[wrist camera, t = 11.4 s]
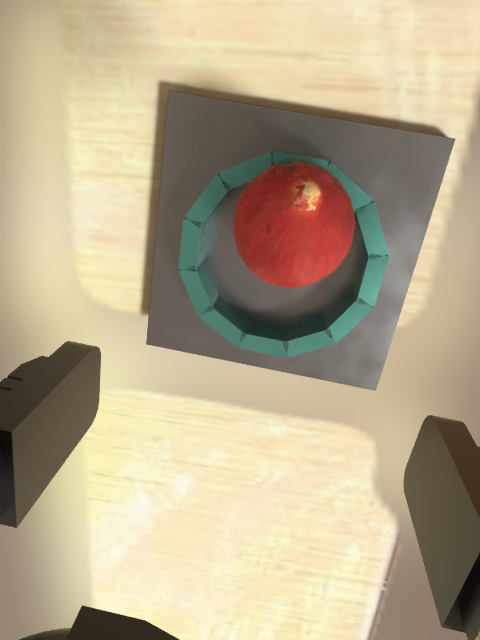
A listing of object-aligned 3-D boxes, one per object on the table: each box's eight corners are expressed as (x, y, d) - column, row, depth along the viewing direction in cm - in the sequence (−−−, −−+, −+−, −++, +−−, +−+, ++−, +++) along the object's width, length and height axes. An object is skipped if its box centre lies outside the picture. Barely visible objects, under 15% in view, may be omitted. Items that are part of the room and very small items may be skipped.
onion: (223, 211, 26) (223, 129, 18) (321, 195, 27) (363, 108, 19) (242, 310, 25) (250, 267, 17) (344, 292, 26) (397, 243, 18)
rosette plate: (173, 92, 25) (157, 86, 22) (449, 138, 24) (468, 138, 21) (150, 338, 31) (136, 357, 28) (373, 382, 30) (380, 407, 27)
